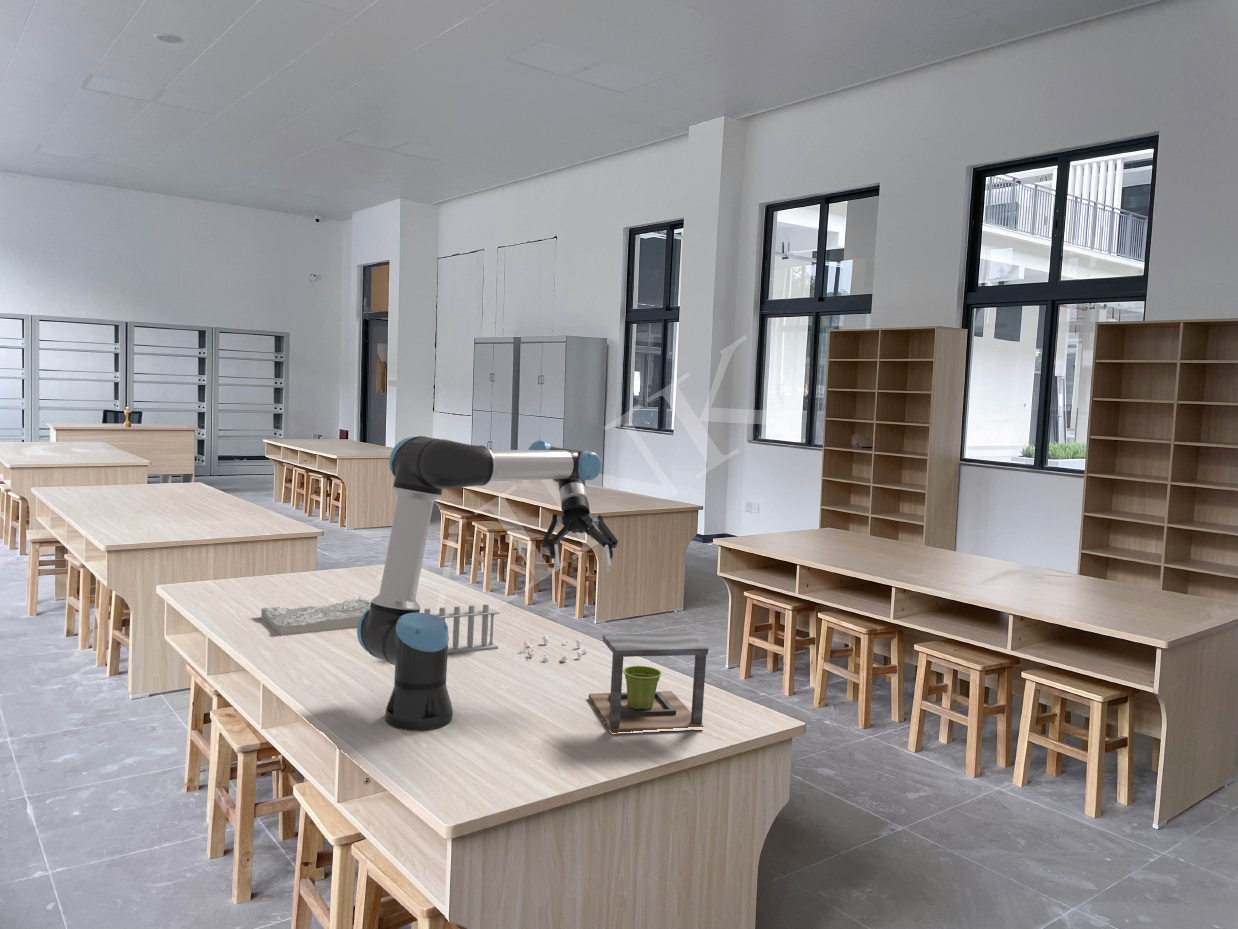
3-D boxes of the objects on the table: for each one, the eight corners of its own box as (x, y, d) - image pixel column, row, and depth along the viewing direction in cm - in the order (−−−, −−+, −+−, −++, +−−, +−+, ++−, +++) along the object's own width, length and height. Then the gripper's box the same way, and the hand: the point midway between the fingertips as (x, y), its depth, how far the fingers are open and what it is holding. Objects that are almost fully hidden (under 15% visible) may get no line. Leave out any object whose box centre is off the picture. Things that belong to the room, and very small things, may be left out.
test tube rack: (415, 657, 250) (417, 611, 249) (411, 653, 254) (412, 607, 253) (498, 649, 263) (500, 605, 262) (492, 645, 267) (494, 601, 266)
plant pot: (637, 696, 224) (638, 663, 223) (667, 706, 218) (669, 672, 217) (613, 705, 216) (615, 670, 216) (644, 715, 210) (646, 680, 210)
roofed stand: (588, 698, 224) (592, 622, 222) (671, 695, 229) (675, 621, 228) (611, 734, 201) (616, 650, 199) (703, 730, 206) (708, 648, 205)
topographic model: (391, 625, 283) (391, 610, 283) (281, 637, 264) (281, 620, 263) (365, 609, 302) (366, 594, 302) (261, 619, 283) (261, 603, 282)
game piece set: (521, 644, 270) (521, 631, 270) (586, 645, 272) (587, 633, 272) (520, 663, 251) (520, 650, 251) (590, 664, 253) (591, 651, 253)
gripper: (615, 512, 248) (626, 576, 235) (527, 510, 242) (533, 576, 229) (621, 495, 243) (633, 560, 229) (531, 493, 236) (537, 559, 223)
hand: (583, 568), depth 229 cm, fingers open, 13 cm apart
